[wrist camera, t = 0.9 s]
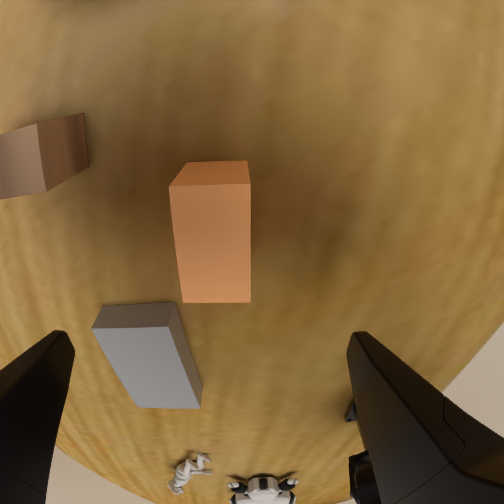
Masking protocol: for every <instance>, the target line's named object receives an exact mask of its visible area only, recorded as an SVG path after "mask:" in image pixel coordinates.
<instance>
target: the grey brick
mask: <svg viewBox="0 0 504 504" xmlns="http://www.w3.org/2000/svg"><path fill="white" fill-rule="evenodd" d="M91 329H92V331H93V333H94V335H95V337H96V339H97V341H98V342H99V344H100V346H101V348H102V350H103V352H104V353H105V355H106V357H107V359H108V360H109V362H110V364H111V366H112V367H113V369H114V371H115V372H116V374H117V376H118V377H119V379H120V381H121V382H122V384H123V385H124V387H125V389H126V390H127V392H128V393H129V395H130V396H131V398H132V399H133V401H134V402H135V404H136V405H137V407H147V408H201V396H202V383H201V380H200V377H199V374H198V371H197V369H196V366H195V363H194V360H193V357H192V354H191V351H190V348H189V345H188V342H187V339H186V336H185V333H184V330H183V327H182V323H181V320H180V317H179V314H178V311H177V307H176V304H175V302H163V303H147V304H131V305H112V306H103V307H102V308H101V310H100V312H99V314H98V316H97V318H96V320H95V322H94V324H93V326H92V328H91Z"/></svg>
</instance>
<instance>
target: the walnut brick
mask: <svg viewBox="0 0 504 504" xmlns="http://www.w3.org/2000/svg"><path fill="white" fill-rule="evenodd" d="M87 167H89V164H88V156H87V147H86V137H85V126H84V113H82V114H77V115H71V116H66V117H61V118H57V119H52V120H48V121H44V122H39V123H36V124H32V125H29V126H26V127H22V128H19V129H16V130H13V131H10V132H7V133H4V134H1V135H0V199H6V198H11V197H17V196H23V195H30V194H36V193H43V192H47V191H49V190H50V189H52V188H54V187H55V186H57V185H58V184H60V183H62V182H63V181H65V180H67V179H68V178H70V177H72V176H73V175H75V174H77V173H79V172H80V171H82V170H84V169H86V168H87Z"/></svg>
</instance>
